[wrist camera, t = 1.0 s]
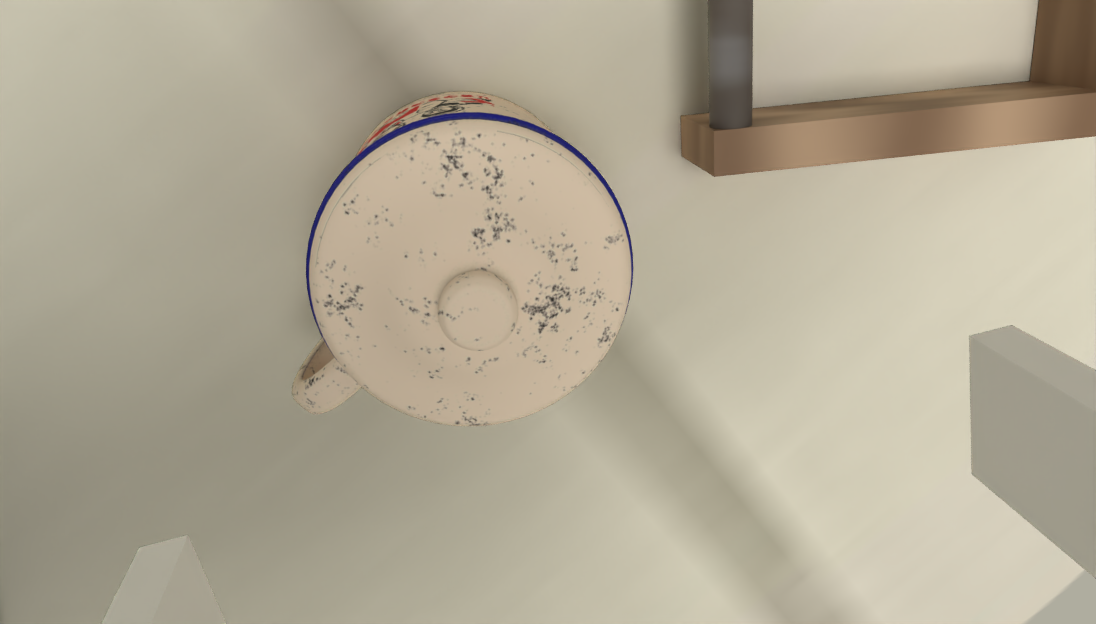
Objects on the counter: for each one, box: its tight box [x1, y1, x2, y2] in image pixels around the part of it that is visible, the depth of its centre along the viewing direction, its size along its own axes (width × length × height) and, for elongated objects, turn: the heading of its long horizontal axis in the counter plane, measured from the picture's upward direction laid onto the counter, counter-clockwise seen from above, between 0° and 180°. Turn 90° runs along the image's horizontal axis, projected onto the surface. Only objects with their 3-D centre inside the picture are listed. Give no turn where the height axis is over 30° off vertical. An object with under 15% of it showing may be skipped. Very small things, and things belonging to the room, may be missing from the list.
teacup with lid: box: [292, 92, 633, 426], centre depth 26 cm, size 12×9×12 cm
